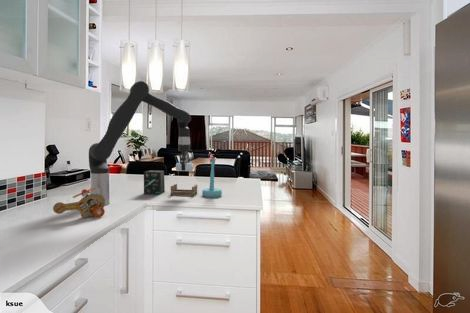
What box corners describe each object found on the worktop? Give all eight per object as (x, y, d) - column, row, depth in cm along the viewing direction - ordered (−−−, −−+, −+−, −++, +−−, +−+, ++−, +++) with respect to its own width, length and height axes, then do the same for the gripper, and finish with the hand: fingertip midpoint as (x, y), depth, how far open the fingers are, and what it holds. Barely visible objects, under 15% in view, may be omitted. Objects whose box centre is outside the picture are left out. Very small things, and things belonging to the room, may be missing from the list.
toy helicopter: (107, 216, 133) (106, 187, 132) (54, 224, 119) (54, 192, 119) (102, 212, 139) (102, 184, 138) (52, 220, 126) (51, 189, 125)
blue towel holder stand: (225, 195, 184) (226, 157, 183) (211, 198, 175) (212, 158, 174) (212, 193, 193) (212, 156, 191) (198, 195, 184) (198, 156, 182)
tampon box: (164, 192, 194) (164, 170, 193) (159, 194, 184) (159, 172, 184) (149, 191, 195) (149, 170, 194) (143, 194, 186) (143, 171, 185)
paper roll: (193, 170, 188) (193, 162, 187) (191, 171, 183) (191, 163, 182) (177, 170, 189) (177, 162, 189) (175, 171, 184) (175, 163, 183)
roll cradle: (193, 196, 181) (193, 186, 181) (170, 195, 182) (170, 186, 182) (197, 193, 191) (197, 184, 191) (175, 192, 192) (175, 183, 192)
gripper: (181, 143, 192) (181, 168, 193) (175, 144, 178) (175, 171, 179) (192, 143, 191) (192, 168, 192) (187, 144, 177) (187, 171, 178)
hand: (184, 169), depth 186 cm, fingers closed on paper roll, 5 cm apart
